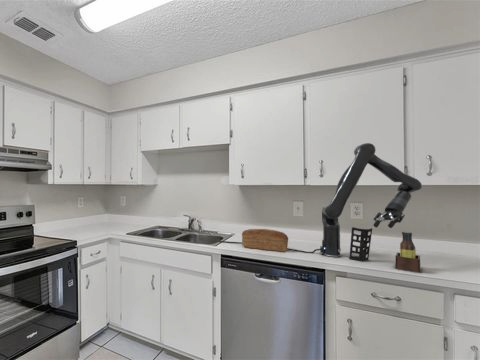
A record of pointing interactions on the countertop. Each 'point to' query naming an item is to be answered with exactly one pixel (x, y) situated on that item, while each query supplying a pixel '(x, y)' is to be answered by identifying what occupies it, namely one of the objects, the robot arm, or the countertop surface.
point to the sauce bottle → (407, 246)
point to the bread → (265, 239)
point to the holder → (362, 242)
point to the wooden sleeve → (407, 263)
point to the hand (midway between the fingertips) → (382, 226)
